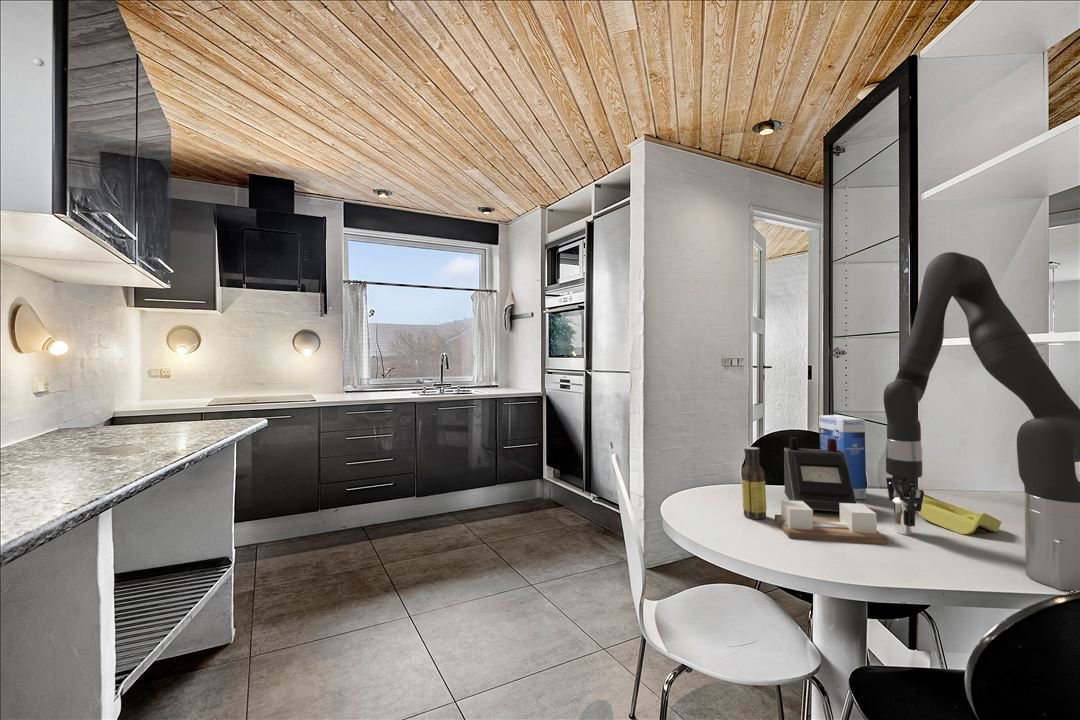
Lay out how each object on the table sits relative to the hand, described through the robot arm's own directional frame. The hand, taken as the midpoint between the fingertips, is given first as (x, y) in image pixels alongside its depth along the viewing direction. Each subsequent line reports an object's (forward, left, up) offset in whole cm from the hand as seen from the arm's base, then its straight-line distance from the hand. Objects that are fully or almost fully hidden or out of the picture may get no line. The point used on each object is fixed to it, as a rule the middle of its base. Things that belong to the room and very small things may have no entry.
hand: (904, 522), depth 123 cm
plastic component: (+11, -16, -3) cm, 20 cm away
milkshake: (0, 0, -3) cm, 3 cm away
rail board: (-2, +19, -3) cm, 19 cm away
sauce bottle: (+7, +35, -3) cm, 36 cm away
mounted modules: (-2, +19, -1) cm, 19 cm away
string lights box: (+36, +1, -3) cm, 36 cm away
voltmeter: (+20, +14, -3) cm, 24 cm away
